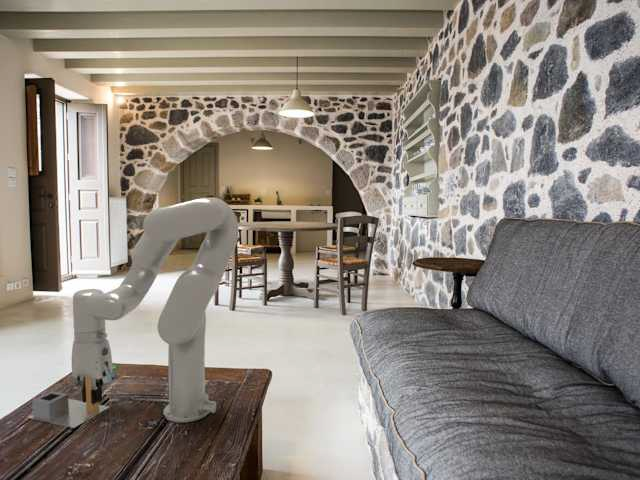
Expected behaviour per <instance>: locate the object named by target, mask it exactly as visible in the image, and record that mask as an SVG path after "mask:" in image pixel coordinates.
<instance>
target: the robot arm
mask: <svg viewBox="0 0 640 480" xmlns="http://www.w3.org/2000/svg"><path fill="white" fill-rule="evenodd" d="M142 229H143V233H142V235H141V236H140V238H139V239H138V241H137V242H136V244H135V246H134V247H133V249H132V250H131V252H130V258H131V265H130V268H129V271H128V272H127V274H126V276H125V277H124V279H123V281H122V282H121V284H119V286H118V287H116V288H115V289H112V290H111V291H108V292H104V291H103V290H101V289H98V288H88V289H81V290H78V291H76V292H74V294H73V295H72V312H73V314H72V315H73V337H74V338H73V339H74V340H73V341H72V349H71V371H72V372H71V375H72V377H73V378H75V379H76V380H77V382H78V383H79V387H80V388H81V391H82V392H81V393H82V396H81V397H82V401H83V402H86V386H85V378H91V379H92V387H93V389H92V390H91V403H92V404H95V403H97V402H99V403H100V401H102V400H103V388H102V387H104V385H106V384H107V383H110V382H109V381H111V380H112V379H113V378H111V376H110V374H111V373H112V374H113V371H114V370H113V358H112V349H111V345H110V343H109V342H110V341H109V339H107V338H108V334H107V333H106V321H117V320H120V319H122V318H124V317H126V316H127V315H128V314H129V313H131V312H132V311H134V310H135V309H136V308H138V307H139V305H140V304H141V303H142V301H143V300H144V298H145V297H146V295H147V294H148V293H149V291H150V289H151V288H152V286H153V284H154V282H155V281H156V278H157V276H158V274H159V273H160V270H161V268H162V266H163V265H164V263H165V262H166V260H167V258H168V257H169V255H170V254H171V252H172V251H173V249H174V248H175V246H176V245H177V243H178V241H179V240H180V239H184V238H188V237H191V236H195V235H200V234H204V233H206V235H205V238H204V239H203V241H202V243H201V245H200V246H199V249H198V252H197V255H196V256H195V258H194V260H193V262H192V264H191V266H190V267H189V268H188V269H187V270H185V271H183V273H181V274H180V276H179V277H178V278H177V279H176V281H175V284H174V285H173V287H172V288H171V292H170V294H169V296H168V299H167V300H166V303H165V305H164V307H163V309H162V311H161V313H160V316H159V318H158V321H157V331H158V335H159V337H160V339H161V340H162V341H163V342H164V343H166V344H168V351H167V352H168V354H167V355H168V358H167V359H168V363H167V364H168V366H167V367H168V404H166V406H165V407H164V409H163V411H162V412H163V417H164V419H166V421H170V422H173V423H190V422H195V421H198V420H201V419H203V418H205V417H206V416H208V415H209V414H210V413H211V414H214V413H215V412H216V410H217V404H218V403H217V401H215V400H210V399H209V397H210V396H209V394H207V393H206V378H205V375H206V373H205V371H206V370H205V368H206V366H205V365H206V363H205V356H206V354H205V351H206V350H205V348H206V347H205V346H206V345H205V343H206V327H207V326H206V325H207V324H206V323H207V313H206V310H207V308H208V306H209V304H210V301H211V300H212V298H213V296H215V294H216V293H217V292H218V290H219V288H220V284H221V281H222V279H223V276H224V274H225V272H226V269H227V267H228V265H229V263H230V261H231V258H232V256H233V254H234V251H235V250H236V245H237V243H238V239H239V231H240V230H239V223H238V219H237V216H236V214H235V212H234V210H233V209H232V208H231V207H230V204H228V203H227V202H225V201H224V200H222V199H220V198H218V197H200V198H196V199H192V200H189V201H184V202H179V203H176V204H172V205H167V206H163V207H158V208H153V209H152V210H151V211H149V212H148V213H147V214H146V215H145V217H144V220H143V223H142ZM97 380H99V381H98V382H97ZM111 382H112V381H111ZM105 383H106V384H105Z"/></svg>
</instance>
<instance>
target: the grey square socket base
mask: <svg viewBox="0 0 640 480" xmlns="http://www.w3.org/2000/svg"><path fill="white" fill-rule="evenodd" d="M31 402H32V407H31V408H32V414H31V415H28V416H27V417H26V418H27V419H32V420H37V421H41V422H46V423H51V424H55V425H59V426H64V427H70V428H73V429H74V428H76V427H79V425H81V424H83V423H85V422H86V421H89V420H90V419H92V418H94V417H95V416H97V415H98V414H100V413H103V411H105V410H107V409H108V408H109V409H110V406H108V405H104V404H103V405H102V404H99V409H98V410H96V411H94V412H89V411H86V402H83V400H78V399H73V398H69V394H68V393H64V392H58V391H52V390H51V391H49V392H47V393H44V394H42V395H40V396H38V397H36V398H34V399H32V401H31Z"/></svg>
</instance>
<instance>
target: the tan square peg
mask: <svg viewBox="0 0 640 480" xmlns="http://www.w3.org/2000/svg"><path fill="white" fill-rule="evenodd" d="M97 382H98V380H97ZM85 386H86V411H89V412H94V411H96V410H98V409H99V405H100V401H99V402H97V403H95V404H92V403H91V390H92V389H93V387H92V379H91V378H85Z"/></svg>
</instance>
